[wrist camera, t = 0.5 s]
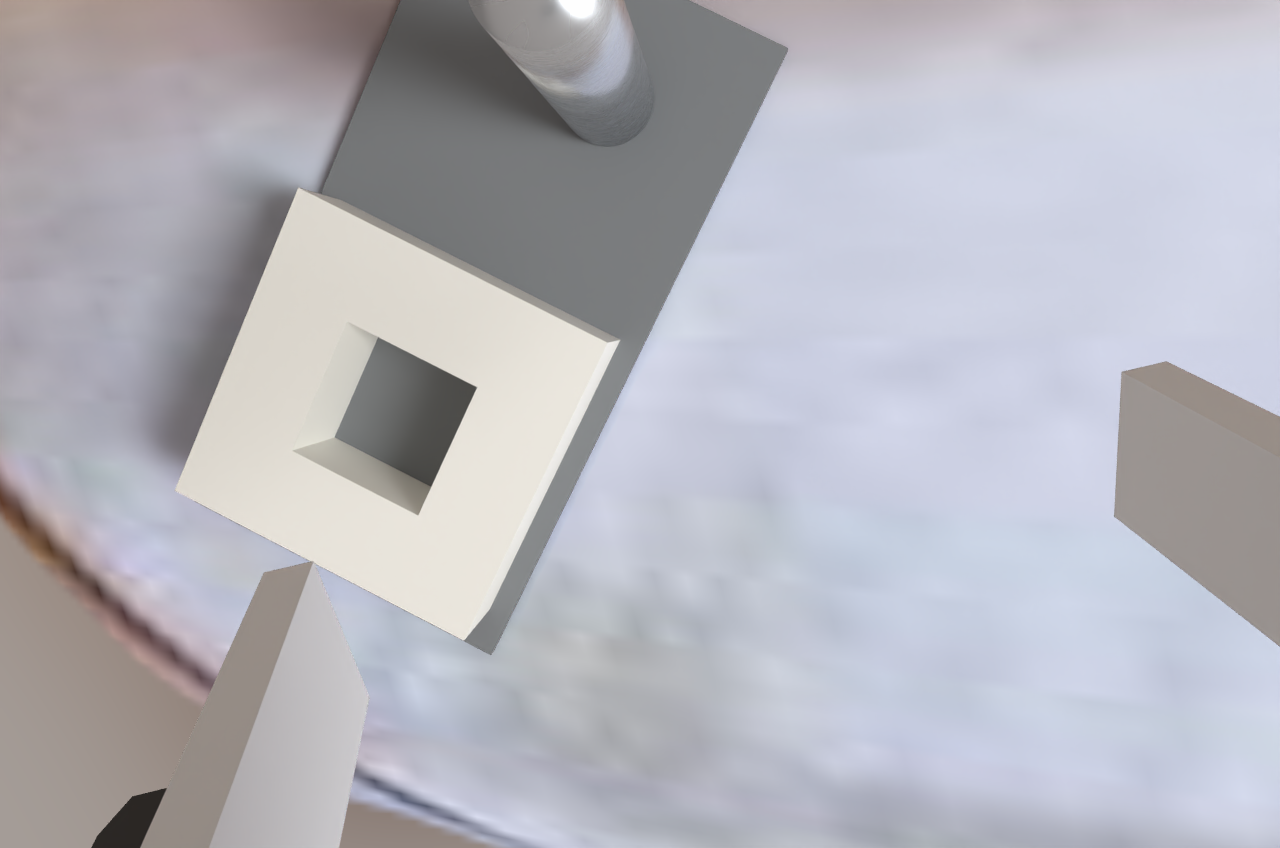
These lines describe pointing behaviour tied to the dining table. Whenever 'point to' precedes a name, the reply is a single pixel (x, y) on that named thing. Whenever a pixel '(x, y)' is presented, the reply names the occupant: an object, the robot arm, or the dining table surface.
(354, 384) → the hole block
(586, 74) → the pin
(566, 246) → the mat
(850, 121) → the dining table surface
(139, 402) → the dining table surface
